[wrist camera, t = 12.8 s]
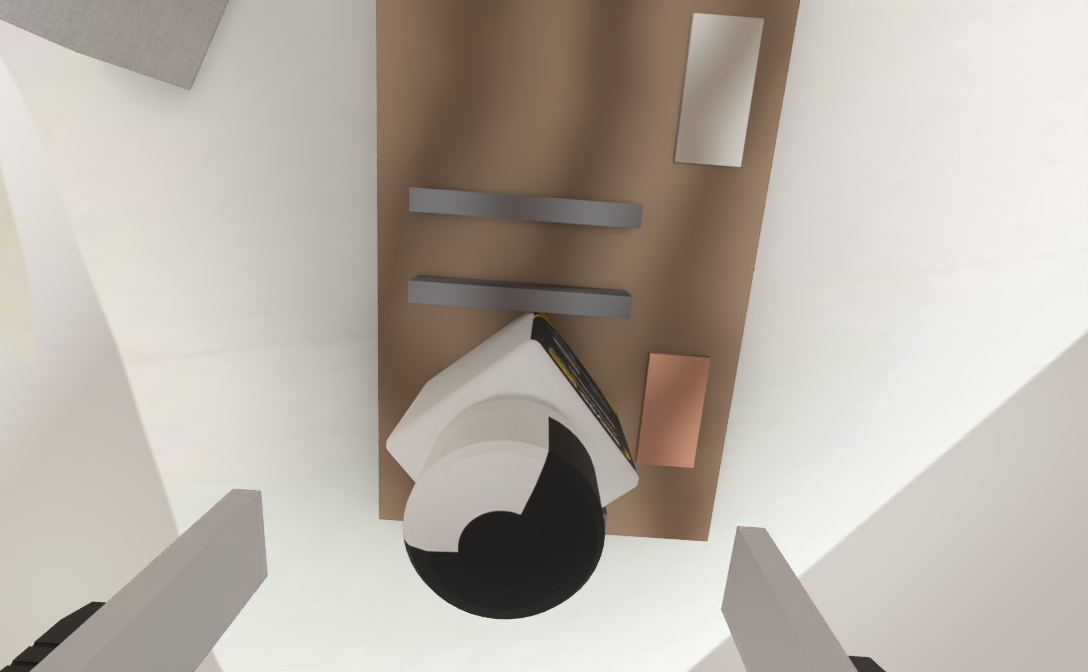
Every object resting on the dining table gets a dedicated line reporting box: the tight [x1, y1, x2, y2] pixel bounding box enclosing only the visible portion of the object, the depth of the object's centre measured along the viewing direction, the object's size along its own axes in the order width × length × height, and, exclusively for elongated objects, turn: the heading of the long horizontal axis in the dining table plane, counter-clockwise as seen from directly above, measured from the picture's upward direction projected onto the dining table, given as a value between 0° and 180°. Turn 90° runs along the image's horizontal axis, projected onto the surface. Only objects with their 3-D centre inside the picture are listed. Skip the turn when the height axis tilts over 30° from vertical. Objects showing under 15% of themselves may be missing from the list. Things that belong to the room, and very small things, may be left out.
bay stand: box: [376, 0, 800, 541], centre depth 24 cm, size 18×30×3 cm, turn 176°
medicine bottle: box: [386, 311, 639, 619], centre depth 20 cm, size 7×7×12 cm
